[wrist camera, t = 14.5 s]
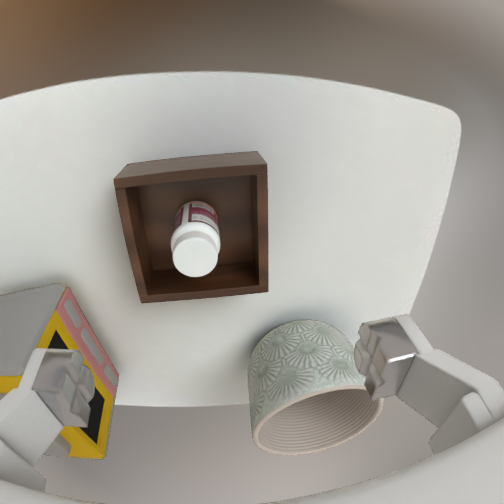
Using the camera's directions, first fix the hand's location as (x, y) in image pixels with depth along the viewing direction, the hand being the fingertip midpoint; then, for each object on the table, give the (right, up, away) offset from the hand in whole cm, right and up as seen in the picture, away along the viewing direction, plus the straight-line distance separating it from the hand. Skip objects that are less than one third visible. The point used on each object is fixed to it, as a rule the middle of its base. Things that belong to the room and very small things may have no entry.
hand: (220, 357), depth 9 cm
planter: (+7, -11, +40) cm, 42 cm away
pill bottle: (-5, +6, +27) cm, 28 cm away
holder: (-5, +7, +27) cm, 29 cm away
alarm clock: (-29, -9, +33) cm, 44 cm away
